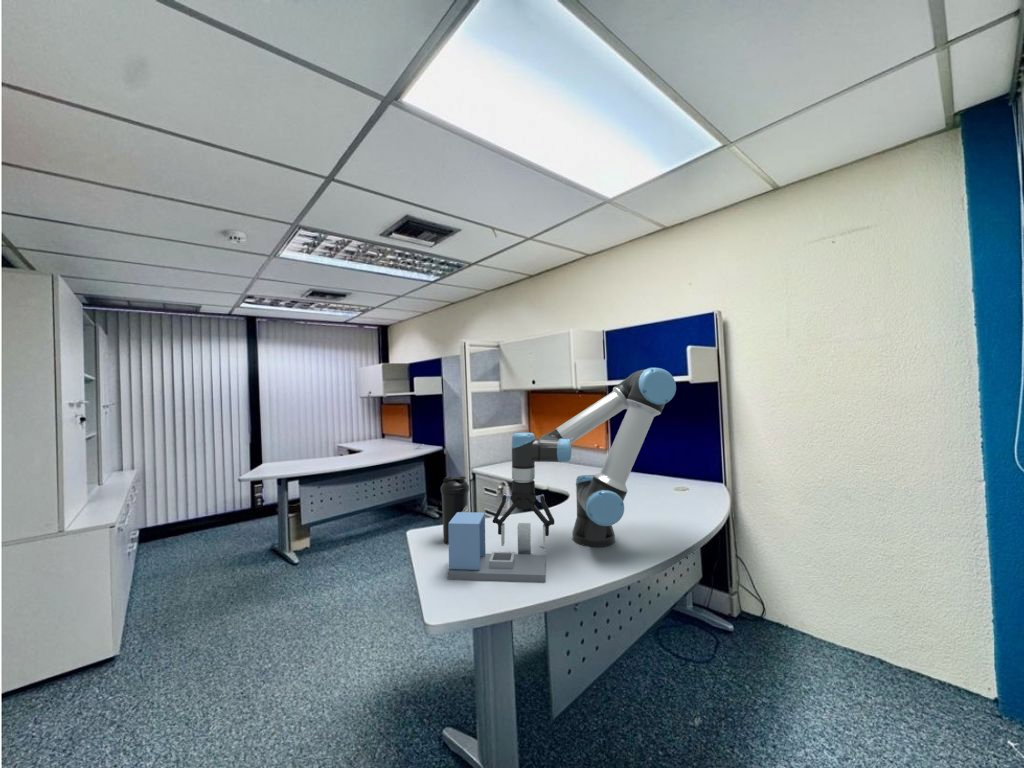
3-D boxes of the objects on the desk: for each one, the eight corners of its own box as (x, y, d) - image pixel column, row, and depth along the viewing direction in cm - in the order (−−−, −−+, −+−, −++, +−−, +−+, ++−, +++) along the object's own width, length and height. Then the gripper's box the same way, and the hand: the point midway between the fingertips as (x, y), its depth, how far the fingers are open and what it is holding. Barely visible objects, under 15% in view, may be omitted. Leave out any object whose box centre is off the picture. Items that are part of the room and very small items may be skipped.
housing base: (545, 561, 126) (545, 548, 126) (545, 582, 112) (545, 567, 112) (458, 559, 128) (458, 546, 128) (447, 579, 114) (447, 565, 114)
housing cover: (485, 554, 126) (484, 512, 126) (479, 569, 115) (478, 523, 115) (457, 553, 127) (457, 512, 127) (448, 568, 116) (448, 523, 116)
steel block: (530, 553, 132) (530, 523, 132) (530, 558, 128) (529, 527, 128) (518, 553, 132) (518, 522, 133) (517, 558, 128) (517, 527, 129)
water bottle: (464, 546, 139) (463, 480, 139) (436, 545, 141) (436, 479, 141) (473, 536, 149) (472, 474, 149) (447, 534, 151) (446, 474, 151)
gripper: (561, 478, 133) (561, 542, 133) (487, 476, 136) (487, 539, 135) (561, 483, 126) (562, 550, 125) (484, 481, 128) (484, 548, 128)
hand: (523, 545), depth 130 cm, fingers open, 13 cm apart
